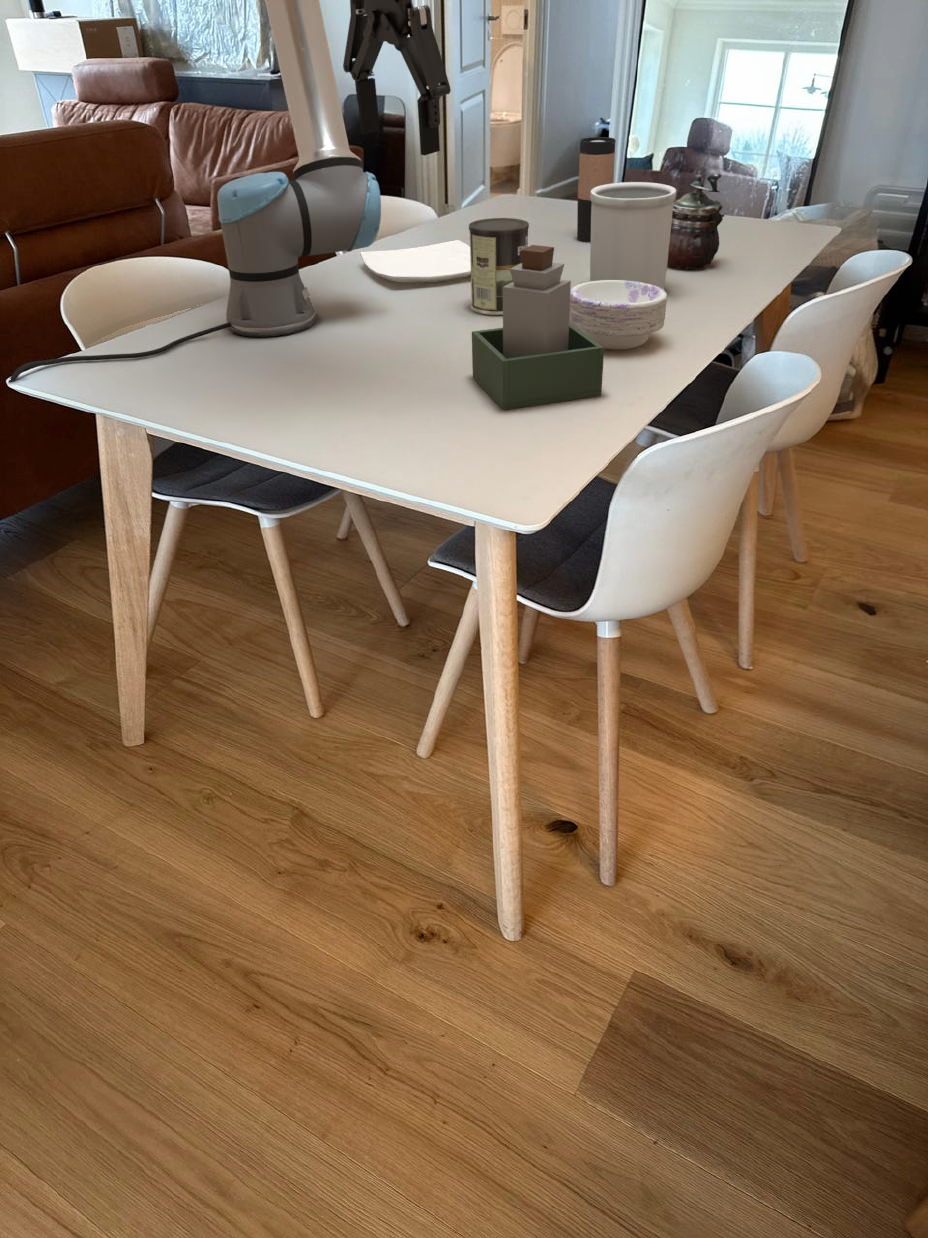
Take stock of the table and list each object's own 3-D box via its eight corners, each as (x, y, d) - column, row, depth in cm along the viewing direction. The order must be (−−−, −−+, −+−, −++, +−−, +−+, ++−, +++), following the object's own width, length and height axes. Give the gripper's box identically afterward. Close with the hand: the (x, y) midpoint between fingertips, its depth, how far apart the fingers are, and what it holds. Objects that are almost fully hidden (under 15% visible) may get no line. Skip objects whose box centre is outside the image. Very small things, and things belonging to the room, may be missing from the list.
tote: (502, 410, 123) (502, 361, 119) (472, 377, 134) (471, 331, 130) (601, 395, 126) (604, 347, 122) (564, 364, 137) (565, 319, 133)
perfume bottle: (567, 377, 130) (572, 245, 120) (545, 392, 126) (548, 256, 115) (526, 369, 133) (527, 240, 123) (503, 384, 129) (502, 251, 118)
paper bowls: (676, 333, 147) (681, 283, 143) (641, 362, 137) (646, 309, 132) (590, 321, 154) (592, 273, 149) (551, 348, 143) (552, 296, 139)
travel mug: (570, 236, 206) (574, 138, 195) (601, 233, 208) (606, 135, 196) (584, 243, 200) (588, 142, 189) (615, 240, 202) (622, 140, 190)
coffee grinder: (681, 279, 174) (692, 176, 164) (647, 261, 186) (655, 164, 176) (740, 272, 177) (754, 171, 167) (703, 255, 189) (714, 159, 178)
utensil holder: (629, 308, 160) (637, 200, 150) (569, 291, 169) (573, 189, 159) (683, 291, 167) (694, 188, 157) (623, 276, 177) (629, 178, 167)
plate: (507, 277, 179) (507, 262, 178) (389, 293, 172) (388, 278, 171) (461, 250, 198) (461, 238, 196) (354, 264, 191) (352, 251, 189)
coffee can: (531, 299, 166) (532, 217, 158) (523, 316, 157) (524, 230, 149) (476, 298, 168) (474, 216, 159) (465, 314, 159) (463, 229, 151)
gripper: (303, -53, 116) (326, 129, 130) (424, -33, 102) (435, 168, 116) (351, -60, 119) (368, 118, 134) (475, -42, 105) (479, 155, 120)
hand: (399, 142), depth 125 cm, fingers open, 13 cm apart
